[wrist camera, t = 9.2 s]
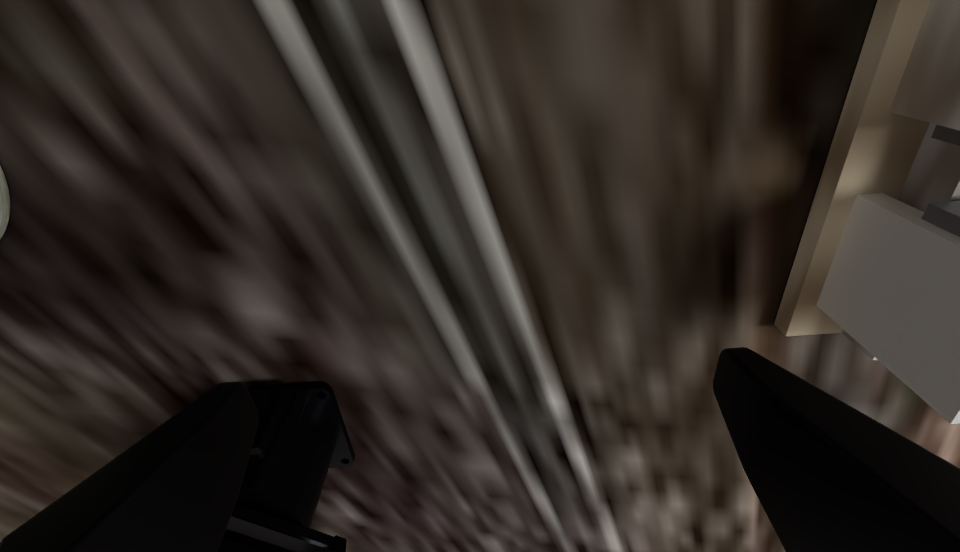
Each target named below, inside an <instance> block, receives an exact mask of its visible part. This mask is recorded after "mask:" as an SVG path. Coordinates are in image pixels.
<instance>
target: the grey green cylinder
mask: <svg viewBox="0 0 960 552" xmlns="http://www.w3.org/2000/svg"><path fill="white" fill-rule="evenodd" d="M9 217H10V195H9V190H8V185H7V181H6V177H5V174H4V172H3V170H2V168H1V165H0V239H1V238H2V236H3V234H4V233H5V230H6V228H7V225H8V222H9Z"/></svg>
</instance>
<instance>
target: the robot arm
mask: <svg viewBox="0 0 960 552" xmlns="http://www.w3.org/2000/svg"><path fill="white" fill-rule="evenodd" d="M713 390H714V394H715V397H716V399H717V402H718V405H719V407H720V410H721V412H722V415H723V417H724V420H725V423H726V425H727V428H728V430H729V433H730V436H731V438H732V441H733V443H734V446H735V448H736V451H737V454H738V456H739V459H740V461H741V463H742V466H743V468H744V471H745V473H746V475H747V477H748V479H749V481H750V483H751V485H752V487H753V489H754V491H755V493H756V495H757V496H758V498H759V500H760V502H761V504H762V506H763V508H764V510H765V512H766V514H767V516H768V518H769V520H770V522H771V524H772V526H773V527H774V529H775V531H776V533H777V535H778V537H779V539H780V541H781V543H782V545H783V547H784V549H785V551H786V552H960V468H958V467H957V466H955V465H953V464H951V463H950V462H948V461H946V460H944V459H943V458H941V457H939V456H937V455H935V454H934V453H932V452H930V451H928V450H927V449H925V448H923V447H921V446H920V445H918V444H916V443H914V442H913V441H911V440H909V439H907V438H906V437H904V436H902V435H900V434H898V433H897V432H895V431H893V430H891V429H890V428H888V427H886V426H884V425H883V424H881V423H879V422H877V421H876V420H874V419H872V418H870V417H869V416H867V415H865V414H863V413H861V412H860V411H858V410H856V409H854V408H853V407H851V406H849V405H847V404H846V403H844V402H842V401H840V400H839V399H837V398H835V397H833V396H832V395H830V394H828V393H826V392H824V391H823V390H821V389H819V388H817V387H816V386H814V385H812V384H810V383H809V382H807V381H805V380H803V379H802V378H800V377H798V376H796V375H795V374H793V373H791V372H789V371H787V370H786V369H784V368H782V367H780V366H779V365H777V364H775V363H773V362H772V361H770V360H768V359H766V358H765V357H763V356H761V355H759V354H757V353H756V352H754V351H752V350H750V349H748V348H744V347H741V348H727V349H724V350H722V352H721V353H720V356H719V359H718V363H717V367H716V371H715V375H714V379H713ZM321 392H323V393H321ZM354 458H355V454H354V451H353V448H352V445H351V442H350V439H349V437H348V434H347V431H346V428H345V425H344V422H343V419H342V416H341V413H340V410H339V407H338V404H337V401H336V398H335V395H334V392H333V389H332V388H331V386H329V385H327V384H324V383H318V384H303V385H288V386H274V387H259V388H247V387H246V386H245V385H244V384H243V383H242V382H226V383H220V384H218V385H216V386H215V387H213V388H212V389H210V390H209V391H208V392H206V393H205V394H203V395H202V396H201V397H199V398H198V399H196V400H195V401H194V402H192V403H191V404H190V405H188V406H187V407H185V408H184V409H183V410H181V411H180V412H178V413H177V414H176V415H174V416H173V417H171V418H170V419H169V420H167V421H166V422H164V423H163V424H162V425H160V426H159V427H158V428H156V429H155V430H153V431H152V432H151V433H149V434H148V435H146V436H145V437H144V438H142V439H141V440H139V441H138V442H137V443H135V444H134V445H132V446H131V447H130V448H128V449H127V450H126V451H124V452H123V453H121V454H120V455H119V456H117V457H116V458H114V459H113V460H112V461H110V462H109V463H107V464H106V465H105V466H103V467H102V468H100V469H99V470H98V471H96V472H95V473H94V474H92V475H91V476H89V477H88V478H87V479H85V480H84V481H82V482H81V483H80V484H78V485H77V486H75V487H74V488H73V489H71V490H70V491H68V492H67V493H66V494H64V495H63V496H61V497H60V498H59V499H57V500H56V501H55V502H53V503H52V504H50V505H49V506H48V507H46V508H45V509H43V510H42V511H41V512H39V513H38V514H36V515H35V516H34V517H32V518H31V519H29V520H28V521H27V522H25V523H24V524H23V525H21V526H20V527H18V528H17V529H16V530H14V531H13V532H11V533H10V534H9V535H7V536H6V537H5V538H3V540H2V542H1V543H0V552H346V539H345V538H342V537H339V536H337V535H336V536H335V537H333V536H330V535H327V534H324V533H322V532H319V531H316V530H313V529H310V527H311V523H312V520H313V517H314V514H315V510H316V507H317V504H318V501H319V497H320V494H321V491H322V488H323V484H324V481H325V478H326V475H327V472H328V468H332V467H347V466H351V465H352V464H353V462H354Z"/></svg>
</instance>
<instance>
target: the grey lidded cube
mask: <svg viewBox="0 0 960 552" xmlns="http://www.w3.org/2000/svg"><path fill="white" fill-rule="evenodd" d="M816 306H817V307H819V308H820V309H821V310H822V311H823V312H824V313H825V314H827V315H828V316H829V317H830V318H831V319H832V320H833V321H834V322H836V323H837V324H838V325H839V326H840V327H841V328H842V329H844V330H845V331H846V332H847V333H848V334H849V335H850V336H851V337H853V338H854V339H855V340H856V341H857V342H858V343H859V344H860V345H862V346H863V347H864V348H865V349H866V350H867V351H868V352H870V353H871V354H872V355H873V356H874V357H875V358H876V359H877V360H879V361H880V362H881V363H882V364H883V365H884V366H885V367H887V368H888V369H889V370H890V371H891V372H892V373H893V374H894V375H896V376H897V377H898V378H899V379H900V380H901V381H902V382H904V383H905V384H906V385H907V386H908V387H909V388H910V389H911V390H913V391H914V392H915V393H916V394H917V395H918V396H919V397H921V398H922V399H923V400H924V401H925V402H926V403H927V404H928V405H930V406H931V407H932V408H933V409H934V410H935V411H936V412H938V413H939V414H940V415H941V416H942V417H943V418H944V419H945V420H947V421H948V422H949V423H950V424H957V423H960V201H951V202H938V203H929V204H928V206H927V208H926V211H925V212H923V211H920V210H918V209H916V208H914V207H912V206H910V205H907V204H905V203H903V202H901V201H899V200H897V199H895V198H892V197H890V196H888V195H886V194H884V193H873V194H860V195H857V197H856V199H855V202H854V205H853V207H852V210H851V213H850V216H849V218H848V221H847V224H846V226H845V229H844V232H843V235H842V237H841V240H840V243H839V245H838V248H837V251H836V253H835V256H834V259H833V262H832V264H831V267H830V270H829V272H828V275H827V278H826V281H825V283H824V286H823V289H822V291H821V294H820V297H819V300H818V302H817V305H816Z"/></svg>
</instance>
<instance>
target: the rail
mask: <svg viewBox="0 0 960 552" xmlns="http://www.w3.org/2000/svg"><path fill="white" fill-rule="evenodd" d="M873 193H884V194H886V195H888V196H890V197H892V198H895V199H897V200H899V201H901V202H903V203H905V204H907V205H910V206H912V207H914V208H916V209H918V210H920V211H923V212H925V211H926V208H927V206H928V204H929V203H938V202H951V201H960V0H877V3H876V7H875V10H874V13H873V16H872V19H871V22H870V25H869V28H868V32H867V35H866V38H865V41H864V44H863V47H862V50H861V53H860V57H859V60H858V63H857V66H856V69H855V72H854V75H853V79H852V82H851V85H850V88H849V91H848V94H847V97H846V100H845V104H844V107H843V110H842V113H841V116H840V119H839V122H838V125H837V129H836V132H835V135H834V138H833V141H832V144H831V147H830V150H829V154H828V157H827V160H826V163H825V166H824V169H823V172H822V176H821V179H820V182H819V185H818V188H817V191H816V194H815V197H814V201H813V204H812V207H811V210H810V213H809V216H808V219H807V222H806V226H805V229H804V232H803V235H802V238H801V241H800V244H799V247H798V251H797V254H796V257H795V260H794V263H793V266H792V269H791V273H790V276H789V279H788V282H787V285H786V288H785V291H784V294H783V298H782V301H781V304H780V307H779V310H778V313H777V316H776V319H775V323H774V325H775V326H776V327H777V328H778V329H779V330H780V331H781V332H782V333H783V334H784V335H785V336H798V335H813V334H828V333H843V334H844V335H845V336H846V337H847V338H848V339H850V340H851V341H852V342H853V343H854V344H855V345H856V346H857V347H859V348H860V349H861V350H862V351H863V352H864V353H865V354H866V355H867V356H869V357H870V358H871V359H872V360H877V359H876V358H875V357H874V356H873V355H872V354H871V353H870V352H868V351H867V350H866V349H865V348H864V347H863V346H862V345H860V344H859V343H858V342H857V341H856V340H855V339H854V338H853V337H851V336H850V335H849V334H848V333H847V332H846V331H845V330H844V329H842V328H841V327H840V326H839V325H838V324H837V323H836V322H834V321H833V320H832V319H831V318H830V317H829V316H828V315H827V314H825V313H824V312H823V311H822V310H821V309H820V308H819V307H817V306H816V305H817V302H818V300H819V297H820V294H821V291H822V289H823V286H824V283H825V281H826V278H827V275H828V272H829V270H830V267H831V264H832V262H833V259H834V256H835V253H836V251H837V248H838V245H839V243H840V240H841V237H842V235H843V232H844V229H845V226H846V224H847V221H848V218H849V216H850V213H851V210H852V207H853V205H854V202H855V199H856V197H857V195H860V194H873Z"/></svg>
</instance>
